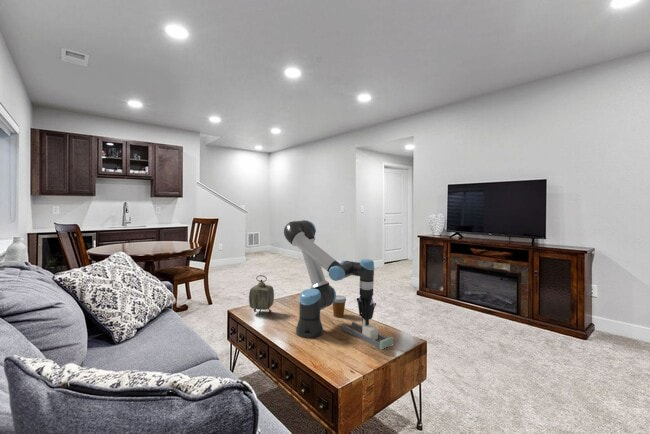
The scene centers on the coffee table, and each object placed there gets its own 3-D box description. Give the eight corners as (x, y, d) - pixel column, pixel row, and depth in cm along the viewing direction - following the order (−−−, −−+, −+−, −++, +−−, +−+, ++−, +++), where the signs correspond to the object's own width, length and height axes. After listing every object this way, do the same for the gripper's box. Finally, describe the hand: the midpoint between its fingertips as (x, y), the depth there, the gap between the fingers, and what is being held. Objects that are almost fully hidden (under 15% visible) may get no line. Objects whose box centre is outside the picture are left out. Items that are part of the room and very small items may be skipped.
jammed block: (370, 341, 166) (370, 330, 165) (362, 337, 170) (362, 327, 170) (377, 338, 169) (378, 328, 169) (369, 335, 174) (370, 324, 174)
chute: (381, 349, 157) (382, 342, 157) (341, 329, 181) (342, 322, 181) (393, 345, 163) (393, 337, 162) (352, 325, 187) (353, 319, 186)
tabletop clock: (273, 311, 207) (274, 274, 206) (269, 316, 198) (269, 277, 197) (252, 310, 209) (253, 273, 208) (247, 315, 200) (247, 276, 199)
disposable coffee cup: (335, 312, 209) (336, 294, 209) (348, 314, 204) (348, 296, 204) (328, 316, 201) (328, 298, 200) (341, 319, 196) (342, 300, 196)
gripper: (380, 289, 168) (378, 332, 170) (362, 284, 179) (361, 324, 180) (370, 292, 164) (369, 336, 165) (353, 286, 174) (352, 327, 175)
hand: (365, 330), depth 172 cm, fingers closed
